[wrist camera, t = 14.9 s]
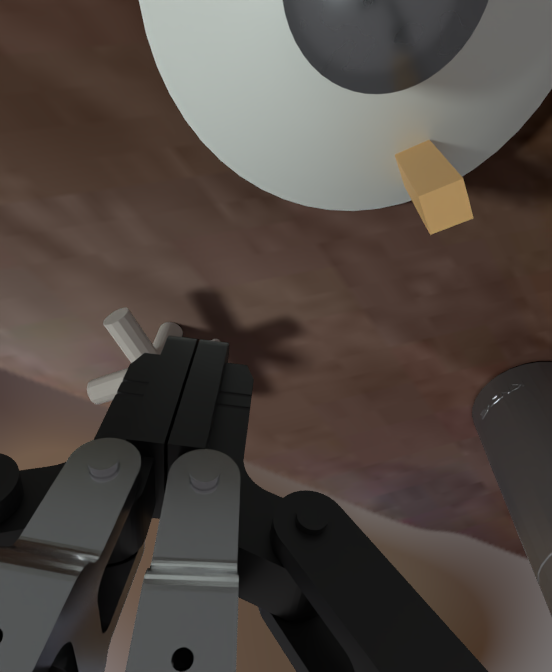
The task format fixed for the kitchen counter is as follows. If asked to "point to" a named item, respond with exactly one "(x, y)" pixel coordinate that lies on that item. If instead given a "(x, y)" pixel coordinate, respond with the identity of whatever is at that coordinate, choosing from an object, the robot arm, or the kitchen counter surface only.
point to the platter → (349, 106)
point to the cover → (381, 39)
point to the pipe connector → (128, 350)
